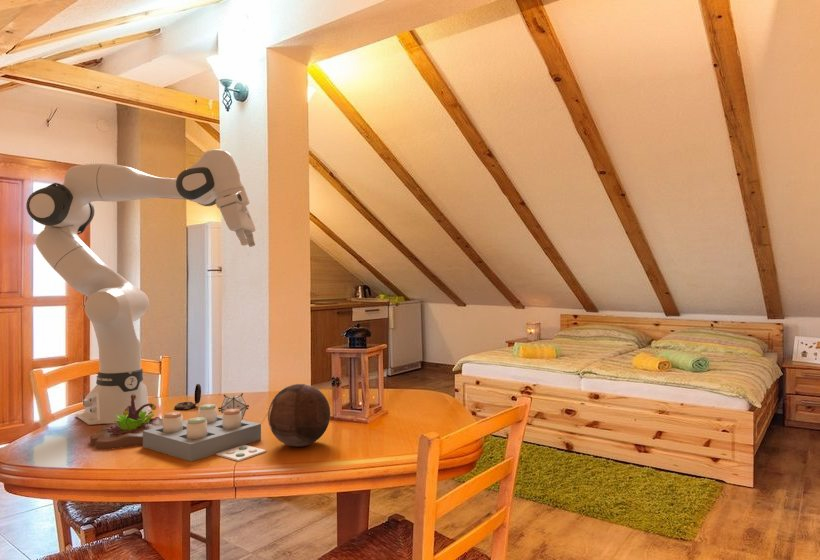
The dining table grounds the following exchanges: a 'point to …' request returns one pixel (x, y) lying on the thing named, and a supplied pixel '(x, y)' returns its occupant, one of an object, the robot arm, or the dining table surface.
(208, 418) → the button
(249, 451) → the card
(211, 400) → the dining table surface
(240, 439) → the grey grid tray
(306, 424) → the wooden sphere
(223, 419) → the button
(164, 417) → the button
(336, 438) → the dining table surface
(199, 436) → the button
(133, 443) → the plant
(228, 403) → the wireframe polyhedron
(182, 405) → the compass
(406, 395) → the dining table surface
